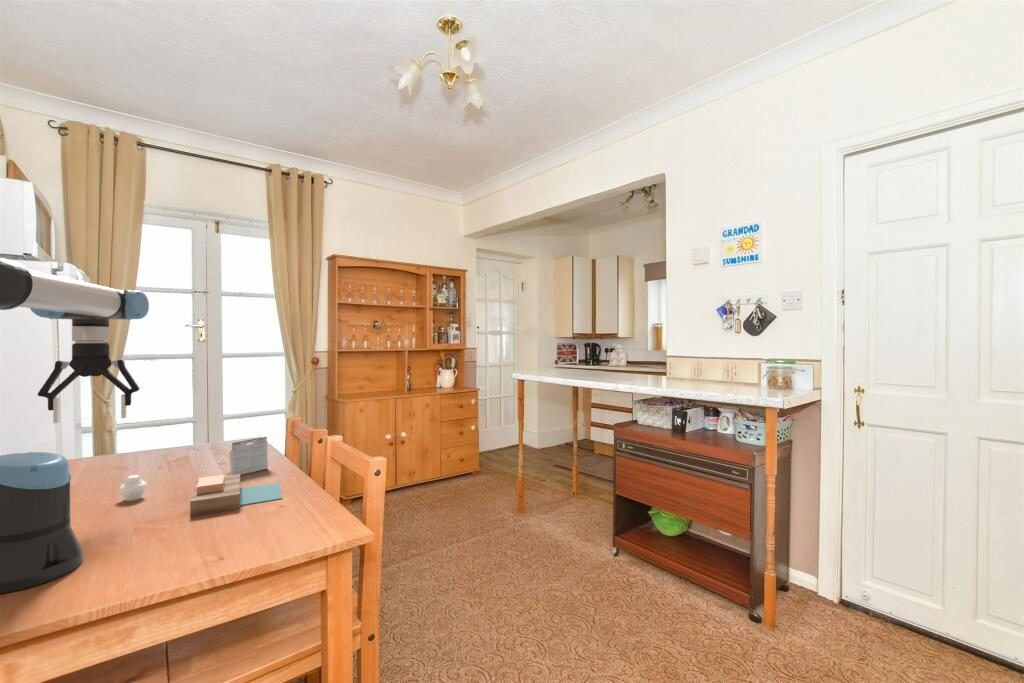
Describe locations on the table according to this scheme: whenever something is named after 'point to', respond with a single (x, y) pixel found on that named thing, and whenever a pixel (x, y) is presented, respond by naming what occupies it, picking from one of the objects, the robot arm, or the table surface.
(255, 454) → the ink box
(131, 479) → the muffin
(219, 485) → the block
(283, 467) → the table surface
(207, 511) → the brown wooden slab
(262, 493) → the mat
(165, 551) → the table surface
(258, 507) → the table surface
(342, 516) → the table surface
